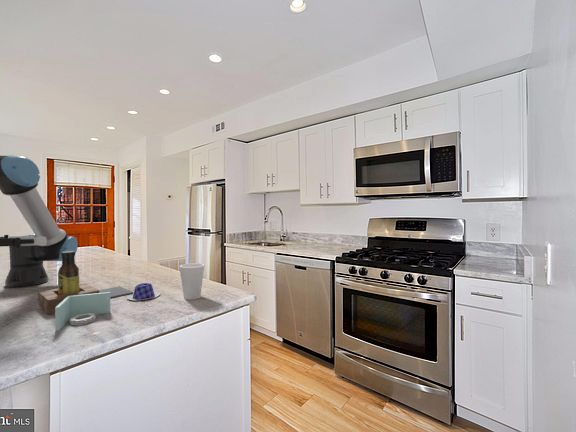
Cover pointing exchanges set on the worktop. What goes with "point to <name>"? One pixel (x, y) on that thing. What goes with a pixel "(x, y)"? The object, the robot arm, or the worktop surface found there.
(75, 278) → the sauce bottle
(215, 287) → the worktop surface
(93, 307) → the mint folded panel
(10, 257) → the robot arm
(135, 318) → the worktop surface
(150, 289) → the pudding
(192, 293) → the foam cup
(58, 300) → the walnut collar
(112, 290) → the grey mat
